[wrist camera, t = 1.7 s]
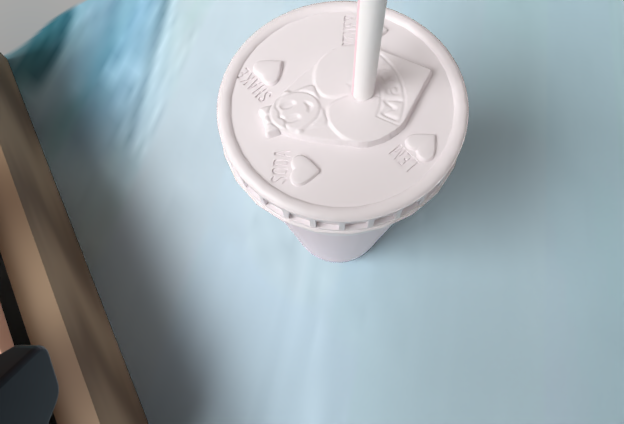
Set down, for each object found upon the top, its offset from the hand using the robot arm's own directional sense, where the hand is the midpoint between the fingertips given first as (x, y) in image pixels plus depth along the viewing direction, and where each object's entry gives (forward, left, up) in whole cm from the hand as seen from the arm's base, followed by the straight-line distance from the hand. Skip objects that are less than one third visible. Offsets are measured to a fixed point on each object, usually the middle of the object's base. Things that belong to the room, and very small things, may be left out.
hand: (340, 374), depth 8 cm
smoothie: (+3, -6, -13) cm, 14 cm away
